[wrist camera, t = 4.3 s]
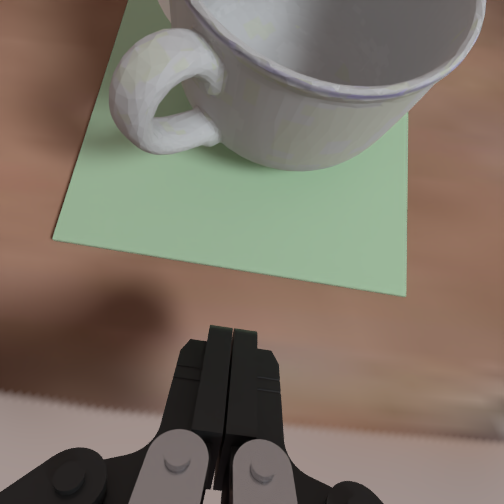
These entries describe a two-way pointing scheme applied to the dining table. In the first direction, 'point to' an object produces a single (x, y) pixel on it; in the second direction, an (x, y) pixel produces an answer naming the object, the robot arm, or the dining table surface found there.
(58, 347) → the dining table surface
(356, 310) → the dining table surface
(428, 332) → the dining table surface
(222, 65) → the teacup
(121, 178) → the putting green
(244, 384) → the robot arm
